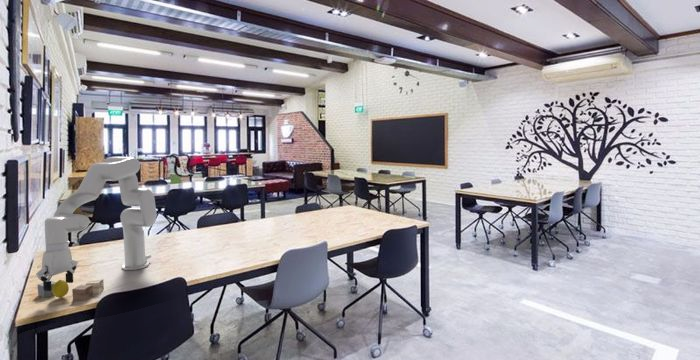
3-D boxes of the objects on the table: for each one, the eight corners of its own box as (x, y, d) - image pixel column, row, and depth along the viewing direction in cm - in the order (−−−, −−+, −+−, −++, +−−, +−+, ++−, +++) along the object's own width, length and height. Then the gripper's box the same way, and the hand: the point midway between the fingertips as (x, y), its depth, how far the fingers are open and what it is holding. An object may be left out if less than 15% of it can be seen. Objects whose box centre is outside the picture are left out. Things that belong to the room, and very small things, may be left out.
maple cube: (91, 290, 168) (90, 279, 167) (103, 289, 169) (103, 278, 169) (86, 294, 163) (85, 283, 162) (99, 293, 164) (98, 282, 164)
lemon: (51, 298, 158) (49, 280, 157) (66, 294, 163) (65, 276, 162) (55, 302, 155) (53, 283, 154) (71, 297, 159) (69, 279, 158)
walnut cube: (81, 295, 161) (81, 284, 161) (93, 296, 161) (92, 284, 161) (72, 300, 156) (72, 289, 156) (84, 300, 156) (84, 289, 156)
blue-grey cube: (51, 291, 166) (50, 280, 165) (57, 293, 164) (57, 282, 163) (38, 295, 161) (37, 284, 161) (44, 297, 159) (43, 286, 159)
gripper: (68, 241, 166) (70, 279, 167) (28, 251, 149) (30, 293, 150) (83, 242, 164) (84, 280, 165) (44, 252, 147) (46, 294, 148)
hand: (58, 286), depth 158 cm, fingers open, 9 cm apart
